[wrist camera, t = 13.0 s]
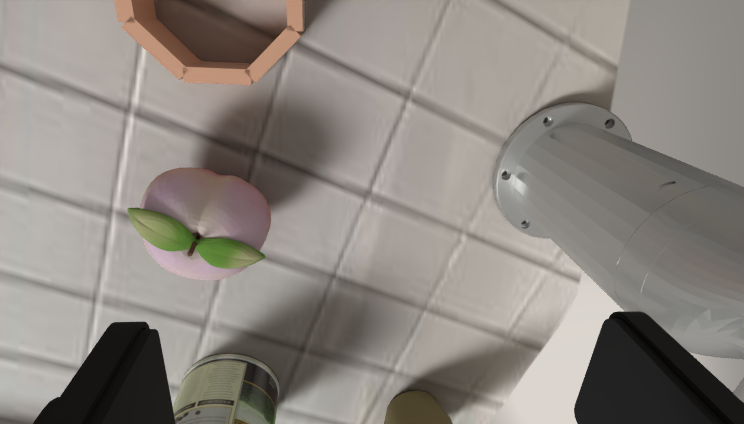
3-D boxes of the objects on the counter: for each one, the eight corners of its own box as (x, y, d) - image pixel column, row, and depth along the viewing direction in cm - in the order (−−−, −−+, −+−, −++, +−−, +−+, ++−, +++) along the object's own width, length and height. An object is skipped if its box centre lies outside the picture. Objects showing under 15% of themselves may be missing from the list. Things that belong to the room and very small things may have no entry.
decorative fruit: (158, 228, 37) (105, 296, 28) (170, 139, 34) (115, 184, 25) (266, 251, 39) (249, 321, 30) (286, 169, 36) (274, 220, 27)
